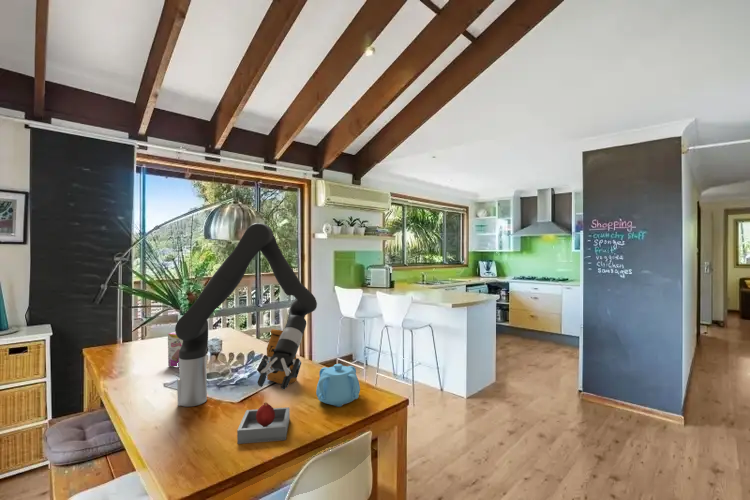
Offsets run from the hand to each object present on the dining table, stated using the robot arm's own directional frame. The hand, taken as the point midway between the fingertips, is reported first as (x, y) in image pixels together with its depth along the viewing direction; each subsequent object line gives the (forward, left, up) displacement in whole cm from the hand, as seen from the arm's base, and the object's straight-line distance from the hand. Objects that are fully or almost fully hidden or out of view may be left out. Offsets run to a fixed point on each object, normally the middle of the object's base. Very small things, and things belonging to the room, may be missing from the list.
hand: (271, 387), depth 124 cm
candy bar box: (-52, +69, -13) cm, 87 cm away
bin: (-2, -3, -12) cm, 13 cm away
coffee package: (-1, +41, -13) cm, 42 cm away
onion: (-2, -3, -12) cm, 12 cm away
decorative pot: (+22, +17, -13) cm, 31 cm away
